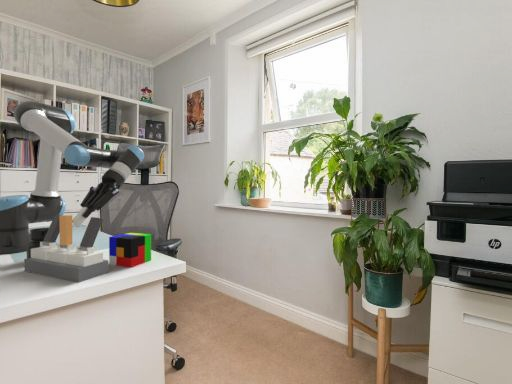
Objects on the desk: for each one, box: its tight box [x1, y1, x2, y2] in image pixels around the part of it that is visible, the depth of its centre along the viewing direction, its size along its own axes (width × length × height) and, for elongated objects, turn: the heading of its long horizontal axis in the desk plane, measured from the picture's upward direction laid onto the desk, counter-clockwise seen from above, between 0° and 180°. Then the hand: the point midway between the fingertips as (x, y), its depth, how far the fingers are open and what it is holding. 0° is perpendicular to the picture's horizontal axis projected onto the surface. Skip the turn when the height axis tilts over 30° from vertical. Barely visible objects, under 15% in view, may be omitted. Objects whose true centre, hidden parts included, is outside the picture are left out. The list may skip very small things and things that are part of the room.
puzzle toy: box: [108, 232, 152, 268], centre depth 104 cm, size 10×10×10 cm
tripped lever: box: [59, 214, 73, 249], centre depth 92 cm, size 2×3×11 cm, turn 68°
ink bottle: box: [25, 227, 58, 259], centre depth 104 cm, size 10×9×12 cm
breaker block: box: [23, 215, 109, 283], centre depth 92 cm, size 10×26×18 cm, turn 68°
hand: (75, 224), depth 95 cm, fingers closed
